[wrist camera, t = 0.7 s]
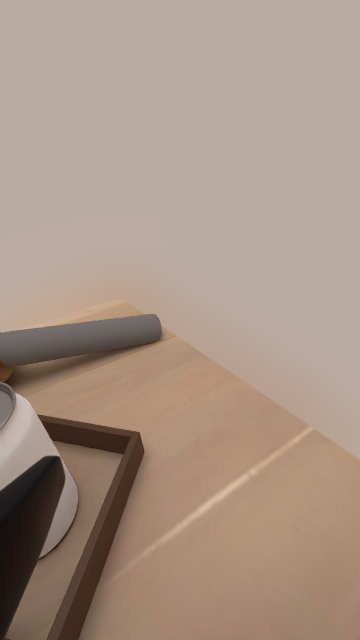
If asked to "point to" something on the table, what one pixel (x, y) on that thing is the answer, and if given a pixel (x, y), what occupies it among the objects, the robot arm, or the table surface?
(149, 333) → the tv remote
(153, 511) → the table surface
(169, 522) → the table surface
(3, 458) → the can
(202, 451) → the table surface
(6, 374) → the onion
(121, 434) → the square frame
